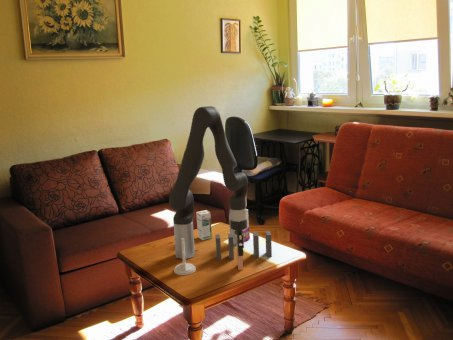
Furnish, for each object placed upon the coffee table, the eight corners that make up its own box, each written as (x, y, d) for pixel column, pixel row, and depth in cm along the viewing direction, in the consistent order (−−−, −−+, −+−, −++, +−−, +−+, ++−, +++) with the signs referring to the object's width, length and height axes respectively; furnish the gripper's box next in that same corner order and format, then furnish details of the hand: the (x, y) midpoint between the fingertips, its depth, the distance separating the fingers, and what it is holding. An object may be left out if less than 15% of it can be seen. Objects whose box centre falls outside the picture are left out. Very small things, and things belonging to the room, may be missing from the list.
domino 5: (267, 256, 225) (266, 235, 222) (265, 252, 230) (265, 231, 227) (271, 256, 225) (271, 234, 222) (270, 252, 230) (269, 231, 227)
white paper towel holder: (173, 276, 209) (171, 244, 206) (174, 266, 219) (172, 236, 215) (195, 274, 210) (193, 242, 206) (195, 265, 219) (193, 234, 216)
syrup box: (202, 240, 249) (200, 214, 246) (197, 237, 254) (196, 211, 251) (212, 238, 252) (210, 212, 248) (207, 235, 257) (205, 209, 253)
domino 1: (217, 260, 223) (215, 238, 221) (216, 256, 228) (215, 234, 226) (221, 260, 224) (220, 238, 221) (220, 255, 228) (219, 234, 226)
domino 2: (229, 259, 224) (228, 237, 221) (228, 255, 229) (228, 233, 226) (233, 259, 224) (233, 237, 221) (233, 255, 229) (232, 233, 226)
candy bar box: (242, 237, 251) (241, 207, 247) (250, 239, 248) (249, 209, 244) (229, 244, 242) (228, 213, 239) (237, 246, 239) (236, 215, 236)
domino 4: (254, 257, 224) (254, 235, 222) (253, 253, 229) (252, 232, 227) (259, 257, 225) (258, 235, 222) (257, 253, 229) (257, 231, 227)
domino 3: (238, 269, 212) (237, 246, 210) (237, 265, 217) (236, 242, 215) (242, 269, 212) (242, 246, 210) (241, 265, 217) (240, 242, 215)
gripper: (228, 213, 216) (230, 246, 220) (231, 223, 202) (232, 259, 206) (244, 212, 217) (246, 245, 220) (248, 222, 203) (250, 257, 206)
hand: (239, 252), depth 213 cm, fingers open, 8 cm apart
